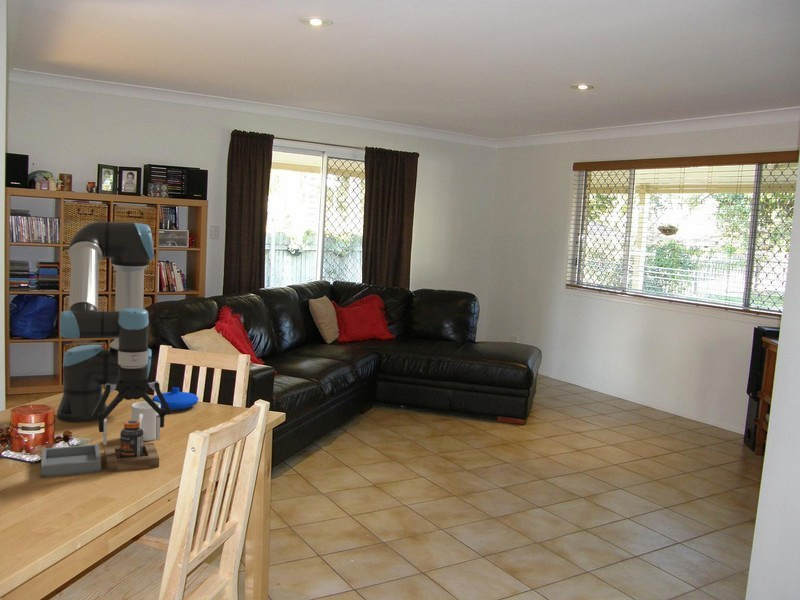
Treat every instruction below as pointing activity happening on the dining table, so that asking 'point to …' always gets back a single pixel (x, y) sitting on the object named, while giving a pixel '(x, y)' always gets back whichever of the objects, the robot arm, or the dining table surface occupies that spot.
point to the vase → (177, 399)
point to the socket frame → (131, 459)
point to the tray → (70, 460)
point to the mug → (145, 419)
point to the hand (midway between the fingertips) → (131, 441)
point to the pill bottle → (131, 440)
